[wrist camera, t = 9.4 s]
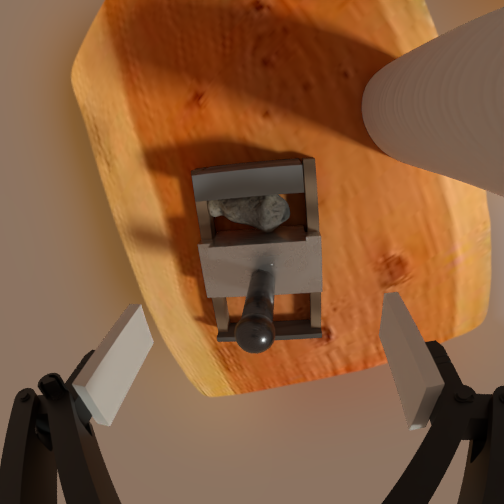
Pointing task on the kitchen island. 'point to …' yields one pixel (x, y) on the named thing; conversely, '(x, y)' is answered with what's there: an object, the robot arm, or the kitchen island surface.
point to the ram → (260, 274)
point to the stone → (253, 210)
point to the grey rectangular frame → (258, 184)
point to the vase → (445, 105)
